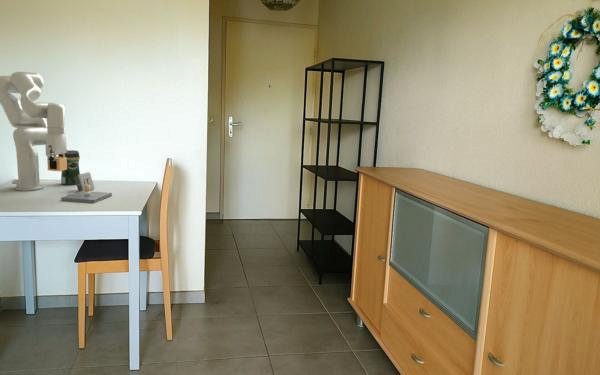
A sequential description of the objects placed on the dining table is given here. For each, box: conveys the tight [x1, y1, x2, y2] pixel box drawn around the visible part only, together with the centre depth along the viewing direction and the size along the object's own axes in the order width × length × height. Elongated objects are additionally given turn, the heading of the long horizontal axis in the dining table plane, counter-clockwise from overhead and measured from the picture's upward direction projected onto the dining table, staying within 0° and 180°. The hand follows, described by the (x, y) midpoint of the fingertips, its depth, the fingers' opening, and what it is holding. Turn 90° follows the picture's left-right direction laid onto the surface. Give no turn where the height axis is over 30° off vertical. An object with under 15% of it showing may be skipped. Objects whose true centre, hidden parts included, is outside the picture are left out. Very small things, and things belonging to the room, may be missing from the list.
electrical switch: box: [74, 171, 95, 192], centre depth 243 cm, size 9×5×9 cm, turn 171°
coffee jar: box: [60, 149, 81, 186], centre depth 257 cm, size 10×8×19 cm
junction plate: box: [60, 185, 113, 204], centre depth 226 cm, size 16×17×6 cm
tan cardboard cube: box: [46, 155, 67, 172], centre depth 225 cm, size 6×6×6 cm
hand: (57, 167), depth 225 cm, fingers closed on tan cardboard cube, 5 cm apart
